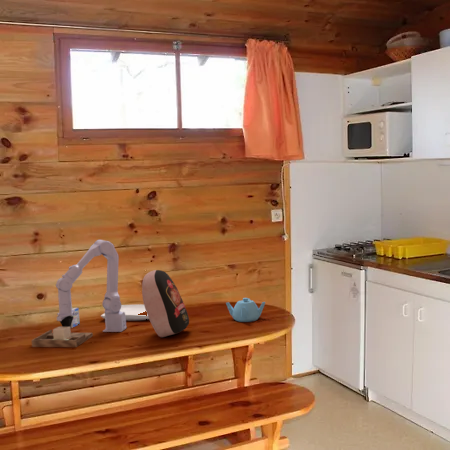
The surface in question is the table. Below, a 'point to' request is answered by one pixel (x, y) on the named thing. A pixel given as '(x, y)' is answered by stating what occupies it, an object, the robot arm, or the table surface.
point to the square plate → (132, 312)
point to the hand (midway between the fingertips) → (67, 332)
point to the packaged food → (163, 304)
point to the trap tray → (60, 340)
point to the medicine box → (75, 318)
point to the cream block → (61, 332)
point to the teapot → (245, 310)
